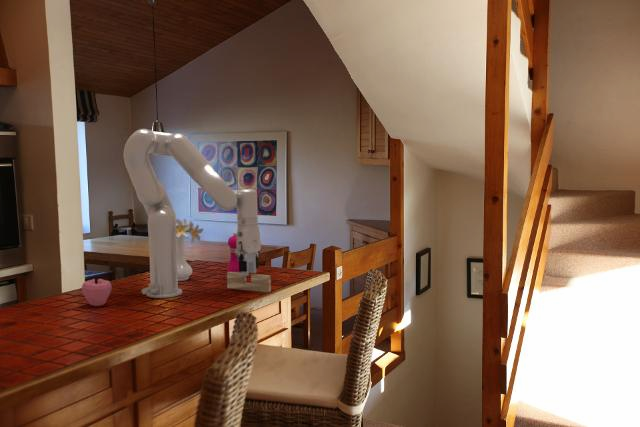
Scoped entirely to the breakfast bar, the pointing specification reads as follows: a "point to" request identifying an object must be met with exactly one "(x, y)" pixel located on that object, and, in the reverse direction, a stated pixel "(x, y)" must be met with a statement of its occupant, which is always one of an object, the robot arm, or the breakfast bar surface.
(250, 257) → the notched plate
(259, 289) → the beige notched bar
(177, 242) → the flower vase
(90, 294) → the apple
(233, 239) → the pepper mill
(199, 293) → the breakfast bar surface
